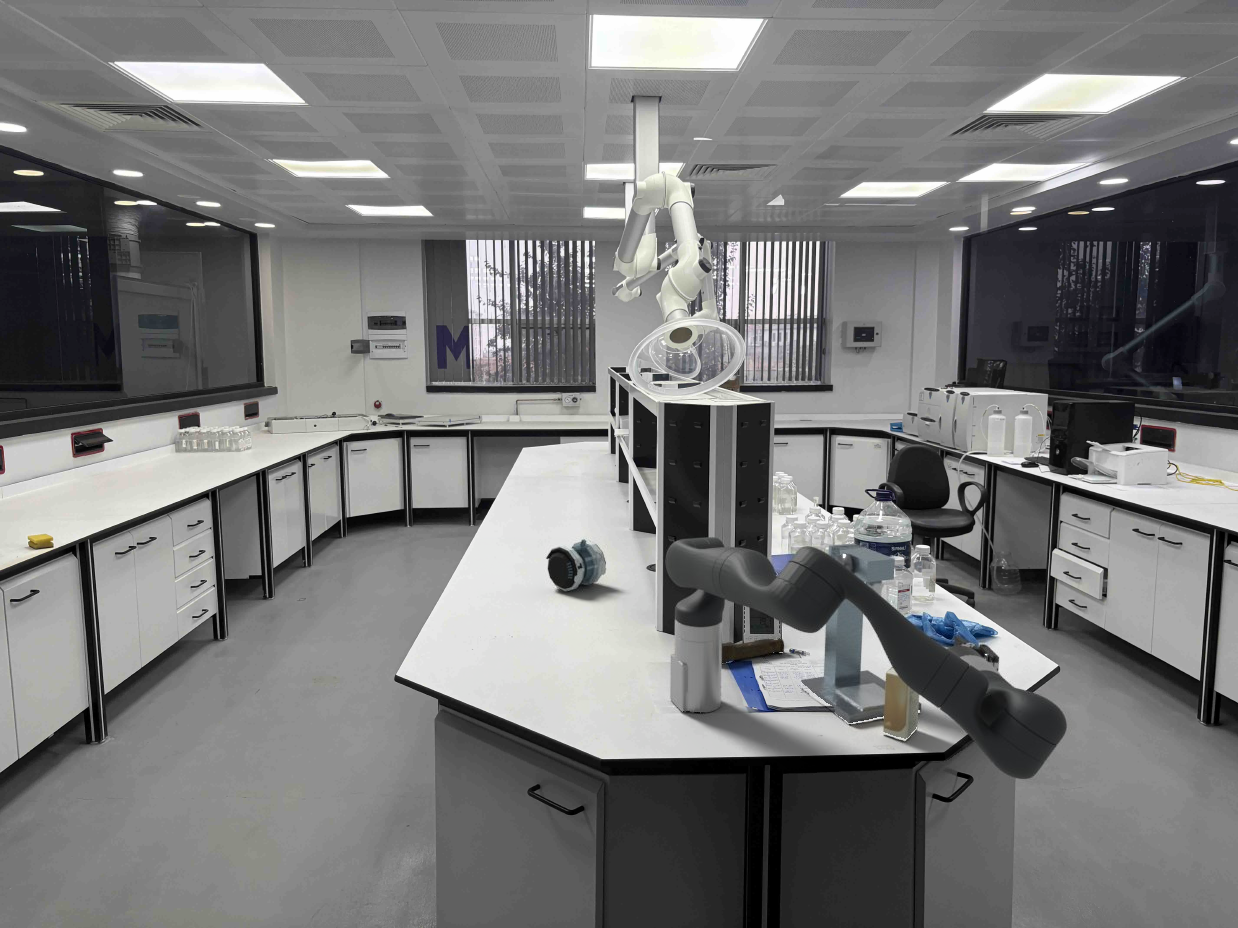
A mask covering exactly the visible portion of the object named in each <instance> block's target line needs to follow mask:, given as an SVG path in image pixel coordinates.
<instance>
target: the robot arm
mask: <svg viewBox="0 0 1238 928" xmlns="http://www.w3.org/2000/svg"><path fill="white" fill-rule="evenodd" d="M664 560H665V561H664V562H665V568H666V571H667V574H668V576H669V578H670V579H671V581H672V582H673V583H674V584H675V585H676V586H678V587H681V588H691V589H696V591H695V592H693V593H692V594H691V595H688V596H687V597H685V598H683V599H682V600H680V601H678V602H677V603H676V605H675V608H674V653H672V654H671V655H670V679H669V681H670V683H669V685H670V687H669V688H670V691H669V692H670V694H669V695H670V696H669V699H671V700H670V701H671V702H672V703H673V704H674V706H675V707H676V708H677V707H678V708H679V709H680V710H681V711H682V712H681V711H680V710H679V709H678V708H677V709H678V710H679V711H680V712H681V713H687V712H686V711H690V712H689V713H694V712H700V714H701V712H705V713H710V712H713V711H716V710H718V709H719V708H720V707H721V704H722V702H721V701H722V665H723V664H722V643H723V613H724V609H725V605H726V601H727V602H731V603H734V604H737V605H739V606H743V607H747V608H749V609H753V610H756V611H758V612H761V613H763V614H765V615H767V616H769V617H771V618H772V619H774V620H777V621H778V622H780V623H782V624H784V625H786V626H788V627H790V628H792V629H794V630H796V631H800V632H801V633H807V634H814V633H817V632H819V631H820V630H822V628H824V627H825V626H826V623H827V622H828V621H829V619H830V618H831V617H832V615H833V614H834V613H835V611H836V610H837V609H838V607H839V606H840V605H841V603H842V602H843V601H844V600H845V599H847V600H849V601H850V602H851V603H853V604H854V605H855V606H856V607H857V608H858V609H859V610H860V611H861V612H862V613H863V616H864V617H865V618H866V619H867V620H868V622H869V623H870V625H871V628H872V629H873V630H874V633H875V634H876V636H877V638H878V641H879V642H880V644H881V646H882V649H883V651H884V653H885V655H886V657H887V659H888V662H889V663H890V665H891V667H893V669H894V670H895V672H896V673H897V674H898V676H899V677H900V678H901V679H902V681H903V682H904V683H905V684H906V685H907V686H909V687H910V688H911V689H912V690H914V691H915V692H916V693H918V694H919V696H921V697H922V698H923V699H925V700H926V701H928V702H929V703H931V705H933V706H935V707H936V708H938V709H939V710H940V711H941V712H943V713H944V714H945V715H947V716H948V717H950V719H952V720H953V721H954V722H955V723H956V724H957V725H959V726H960V728H962V729H963V730H964V732H965V733H967V735H968V736H969V737H970V738H971V739H972V740H973V741H974V743H975V744H976V745H977V746H978V747H979V749H980V750H981V751H982V752H983V754H984V755H985V756H986V757H987V758H988V759H989V761H990V762H991V763H993V765H994V766H995V767H996V768H997V769H998V770H1000V771H1001V772H1002V773H1003V774H1006V775H1007V776H1008V777H1011V778H1013V779H1019V780H1028V779H1031V778H1033V777H1035V776H1036V774H1038V772H1039V771H1040V770H1041V768H1042V767H1043V765H1044V764H1045V763H1046V761H1047V759H1048V758H1049V757H1050V756H1051V754H1052V753H1053V752H1054V750H1055V749H1056V747H1057V745H1059V743H1060V742H1061V740H1062V739H1063V738H1064V736H1065V734H1066V733H1067V728H1068V724H1067V723H1068V722H1067V719H1066V716H1065V714H1064V713H1063V711H1062V709H1061V708H1060V707H1059V706H1058V705H1057V704H1056V703H1054V702H1053V701H1052V700H1050V699H1048V698H1046V697H1044V696H1043V695H1040V694H1038V693H1036V692H1035V693H1034V692H1032V691H1030V690H1026V689H1022V688H1018V687H1016V686H1013V685H1012V684H1011V683H1010V682H1008V681H1007V680H1006V679H1005V678H1004V677H1003V676H1002V674H1001V673H1000V672H999V666H1000V656H999V655H997V653H996V652H995V651H994V650H992V649H991V647H990V646H988V644H984V643H982V644H979V646H976V644H975V643H973V642H969V641H967V639H965V638H963V637H962V636H960V635H954V639H953V646H950V647H948V648H946V647H944V646H943V644H942V645H941V644H940V643H939V642H937V641H936V640H935V639H933V638H931V637H930V636H929V635H928V634H926V633H925V632H924V631H923V630H922V629H920V628H918V627H917V626H916V625H915V624H914V623H913V622H911V621H910V620H909V619H908V618H907V617H906V616H905V615H903V614H902V613H901V612H900V611H899V610H898V609H897V608H896V607H894V606H893V605H892V604H891V603H890V602H889V601H888V600H886V599H885V598H884V597H883V596H882V595H881V596H880V595H879V594H878V593H877V592H875V591H874V590H873V589H872V588H871V587H869V586H868V585H867V584H866V582H863V581H862V580H861V579H860V578H859V577H857V576H856V575H855V574H854V573H853V572H851V571H850V570H849V569H848V568H846V567H845V566H844V565H843V564H841V563H840V562H839V561H837V560H836V559H835V558H833V557H832V556H830V555H828V552H827V553H826V552H825V551H823V550H821V549H819V548H817V547H815V546H808V545H807V546H802V547H800V548H799V549H798V550H797V551H796V552H795V553H794V554H793V555H792V557H791V558H790V559H789V560H788V562H787V563H786V564H785V566H784V567H783V568H782V570H780V572H779V574H778V575H777V573H776V570H775V567H774V566H773V564H772V562H771V560H770V559H769V558H768V557H767V556H766V555H765V554H762V552H759V551H757V550H753V549H749V548H745V547H738V546H736V547H735V546H725V545H724V543H723V542H722V540H721V539H719V537H714V536H710V537H695V538H694V537H693V538H682V539H679V540H676V541H674V542H672V544H671V545H670V546H669V547H668V549H667V551H666V555H665V559H664ZM683 711H685V712H683Z"/></svg>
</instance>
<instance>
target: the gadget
mask: <svg viewBox="0 0 1238 928" xmlns="http://www.w3.org/2000/svg"><path fill="white" fill-rule="evenodd" d="M604 554H605V553H604V551H602V549H601V548H600V547H599V545H598V544H597V543H595V542H593V541H591V540H588V539H583V538H582V539H581V541H579V542H576V543H573V545H572V546H571V547H569V546H567V545H561V546H558V547H554V548H552V549H550V551H549V552H548V554H547V556H546V557H545V559H546V560H547V561H548V562H547V572H548V576H549V579H550V580H551V582H553V584H554V586H556V588H558V589H559V590H562V591H563V592H568V591H569V592H570V591H573V590H575V589H578V587H579V585H580V584H582V585H584V586H589V585H591V584H594V583H598V581H599V580H600V578H601V577H602V576H604V575H605V574H606V571H607V567H606V565H607V562H606V558H605V555H604Z"/></svg>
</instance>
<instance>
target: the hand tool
mask: <svg viewBox="0 0 1238 928" xmlns="http://www.w3.org/2000/svg"><path fill="white" fill-rule="evenodd" d="M780 638H781V637H780ZM780 638H779V639H778V640H773V639H769V638H763V639H756V640H753V641H749V642H744V643H743V642H741V643H733V642H731V641H729V642H722V663H726V662H729V661H734V660H736V661H738V660H742V659H743V660H744V659H748V658H754V657H760V656H759V655H761V656H766V655H765V654H767V655H770V654H769V653H773V652H783V653H784V652H785V642H784V639H783V638H781V639H780ZM773 654H774V653H773ZM734 662H735V661H734Z"/></svg>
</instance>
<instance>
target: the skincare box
mask: <svg viewBox="0 0 1238 928" xmlns="http://www.w3.org/2000/svg"><path fill="white" fill-rule="evenodd" d="M885 681H886V684H885V705H884V720H883V729H882V732H885V733H888V734H890V735H893V736H896V737H901V738H904V739H906V738H908V737H909V736H910V735H911V733H912V732H913V731H914V730H915V729H916V727H917V728H918V724H919V723H918V722H919V714H918V707H919V702H920V695H919V694H918V693H916V692H915V691H914V690H912V689H911V688H910V687H909V686H907V685H906V684H905V683H904V682H903V681H902V679H901V678H900V677H899V676H898V674H897V673H896V672H895V670H894V669H893V667H892V666H891V667H890V668H889V669H888V670H887V671H886V672H885Z"/></svg>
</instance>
